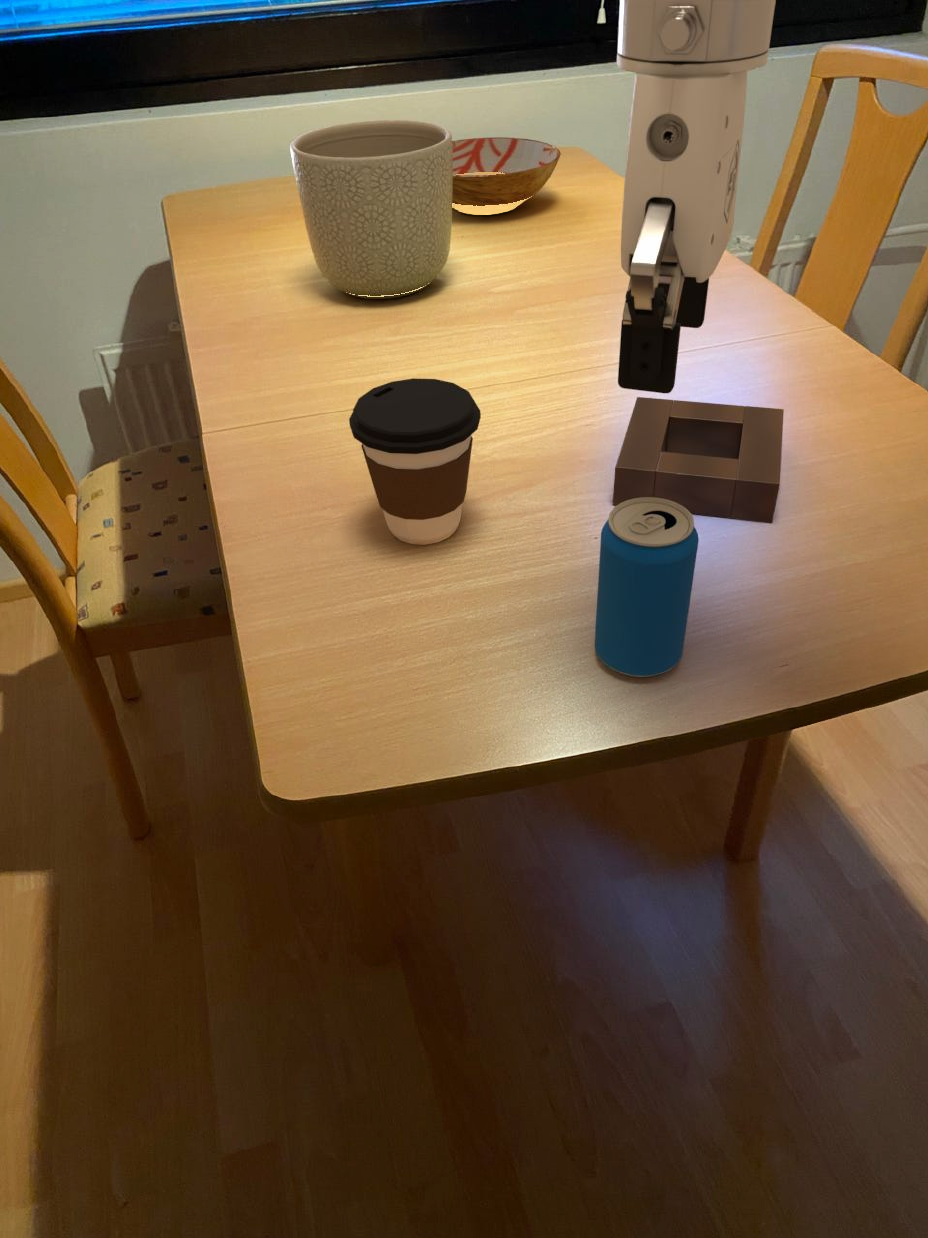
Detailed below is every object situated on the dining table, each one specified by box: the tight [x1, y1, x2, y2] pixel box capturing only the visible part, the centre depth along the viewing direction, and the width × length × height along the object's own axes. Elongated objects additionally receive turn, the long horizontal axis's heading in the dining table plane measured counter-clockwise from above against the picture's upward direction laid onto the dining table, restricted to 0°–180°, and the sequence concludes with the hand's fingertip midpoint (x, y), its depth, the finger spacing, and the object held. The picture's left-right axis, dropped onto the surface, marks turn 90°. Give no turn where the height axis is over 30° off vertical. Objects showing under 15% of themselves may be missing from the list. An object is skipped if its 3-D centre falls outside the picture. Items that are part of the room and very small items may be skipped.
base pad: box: [612, 396, 785, 524], centre depth 87 cm, size 14×14×4 cm
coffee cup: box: [348, 377, 482, 546], centre depth 80 cm, size 11×11×12 cm
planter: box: [289, 119, 453, 300], centre depth 126 cm, size 21×21×19 cm
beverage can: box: [594, 497, 700, 678], centre depth 66 cm, size 6×6×12 cm
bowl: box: [452, 136, 562, 206], centre depth 156 cm, size 25×25×8 cm
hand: (662, 354), depth 57 cm, fingers open, 9 cm apart
